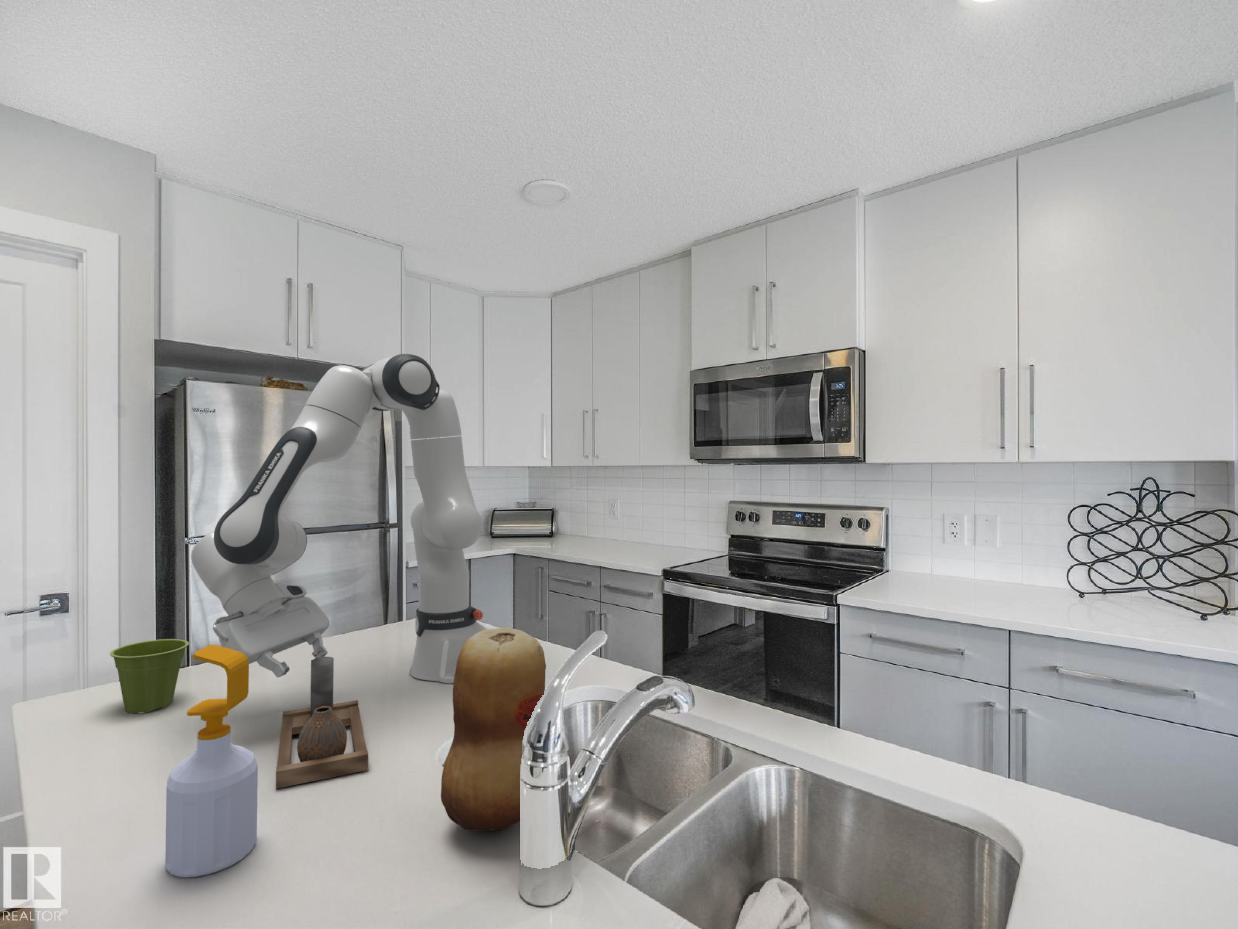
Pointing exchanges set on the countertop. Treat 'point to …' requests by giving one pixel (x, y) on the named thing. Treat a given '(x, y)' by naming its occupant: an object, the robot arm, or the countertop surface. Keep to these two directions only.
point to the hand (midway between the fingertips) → (304, 665)
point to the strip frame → (299, 717)
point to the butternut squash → (491, 727)
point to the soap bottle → (213, 784)
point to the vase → (322, 736)
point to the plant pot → (148, 673)
